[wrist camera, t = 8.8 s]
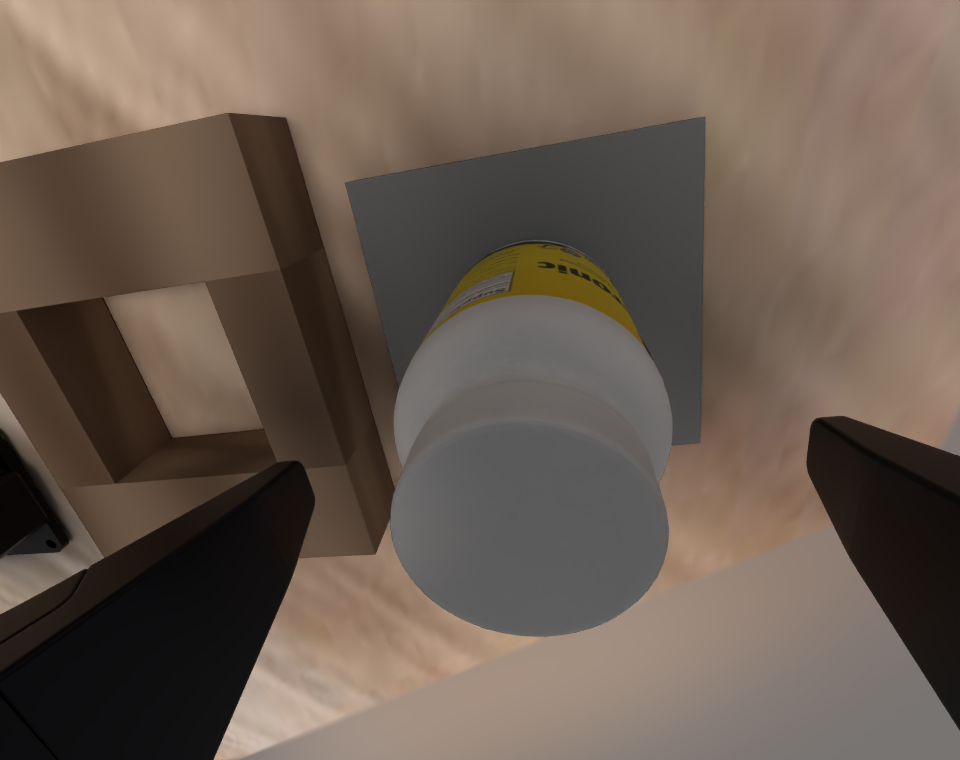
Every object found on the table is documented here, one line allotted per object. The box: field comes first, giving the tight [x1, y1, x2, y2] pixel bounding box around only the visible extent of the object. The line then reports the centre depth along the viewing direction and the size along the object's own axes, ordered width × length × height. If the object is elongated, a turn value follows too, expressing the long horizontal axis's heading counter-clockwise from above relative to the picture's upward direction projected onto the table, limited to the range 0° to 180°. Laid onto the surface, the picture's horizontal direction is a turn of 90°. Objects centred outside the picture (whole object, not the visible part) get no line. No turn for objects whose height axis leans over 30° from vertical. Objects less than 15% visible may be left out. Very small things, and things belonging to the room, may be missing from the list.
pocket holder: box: [0, 113, 395, 558], centre depth 17 cm, size 11×14×3 cm
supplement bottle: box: [390, 240, 673, 636], centre depth 12 cm, size 5×5×10 cm
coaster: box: [345, 117, 705, 445], centre depth 16 cm, size 10×10×1 cm
